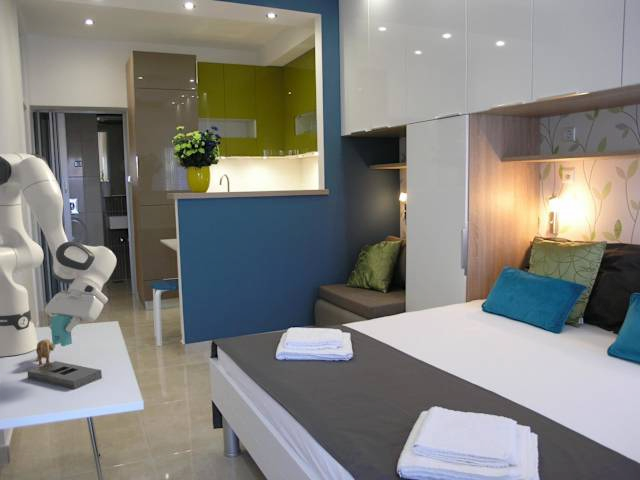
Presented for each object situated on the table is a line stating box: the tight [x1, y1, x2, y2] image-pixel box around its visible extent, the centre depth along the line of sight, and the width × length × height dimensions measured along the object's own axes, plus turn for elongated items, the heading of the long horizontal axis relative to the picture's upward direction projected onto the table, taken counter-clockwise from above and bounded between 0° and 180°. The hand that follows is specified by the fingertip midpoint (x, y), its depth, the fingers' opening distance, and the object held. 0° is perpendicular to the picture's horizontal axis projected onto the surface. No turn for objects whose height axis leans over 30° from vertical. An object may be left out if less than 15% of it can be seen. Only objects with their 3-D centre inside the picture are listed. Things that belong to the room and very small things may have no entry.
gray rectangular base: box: [27, 360, 103, 390], centre depth 174 cm, size 21×10×2 cm, turn 63°
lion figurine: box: [35, 338, 56, 367], centre depth 190 cm, size 15×5×9 cm, turn 38°
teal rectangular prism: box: [49, 315, 73, 347], centre depth 172 cm, size 5×3×8 cm, turn 62°
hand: (59, 330), depth 172 cm, fingers closed on teal rectangular prism, 5 cm apart
